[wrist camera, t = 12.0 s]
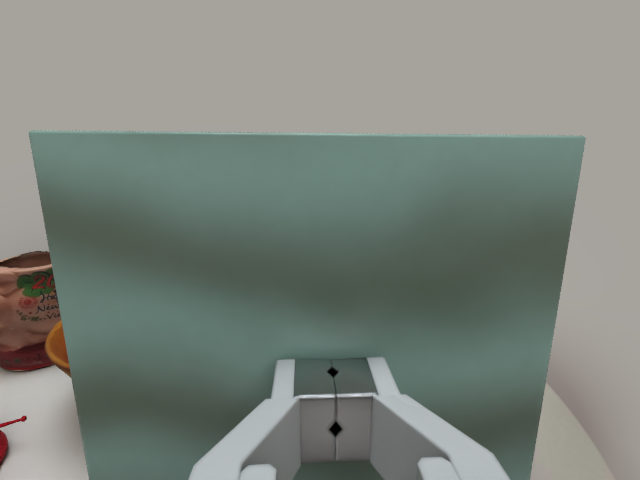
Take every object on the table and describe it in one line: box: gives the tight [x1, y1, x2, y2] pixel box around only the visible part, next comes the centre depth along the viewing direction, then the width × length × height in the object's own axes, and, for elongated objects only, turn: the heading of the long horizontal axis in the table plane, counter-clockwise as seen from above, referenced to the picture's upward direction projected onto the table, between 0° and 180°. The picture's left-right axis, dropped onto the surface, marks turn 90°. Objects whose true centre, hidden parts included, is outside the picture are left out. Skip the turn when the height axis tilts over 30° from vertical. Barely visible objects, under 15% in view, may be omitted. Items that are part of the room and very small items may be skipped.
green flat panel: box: [29, 131, 585, 480], centre depth 10 cm, size 16×14×1 cm
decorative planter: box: [0, 251, 61, 371], centre depth 45 cm, size 20×12×14 cm, turn 138°
